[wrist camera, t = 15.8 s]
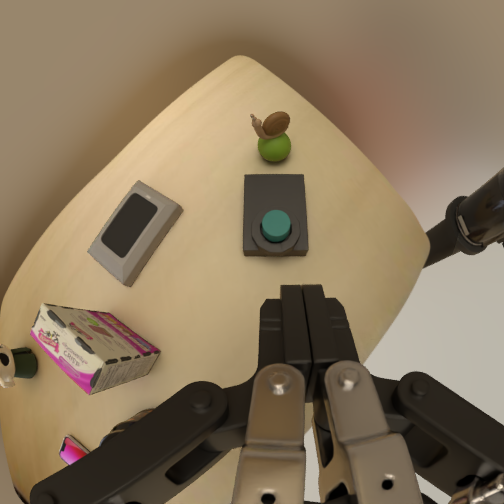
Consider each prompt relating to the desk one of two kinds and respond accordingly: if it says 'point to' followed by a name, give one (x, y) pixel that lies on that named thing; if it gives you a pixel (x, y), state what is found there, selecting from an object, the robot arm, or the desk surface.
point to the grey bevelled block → (134, 232)
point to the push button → (276, 225)
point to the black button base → (274, 198)
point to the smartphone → (71, 450)
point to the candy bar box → (92, 347)
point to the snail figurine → (273, 136)
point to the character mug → (15, 365)
